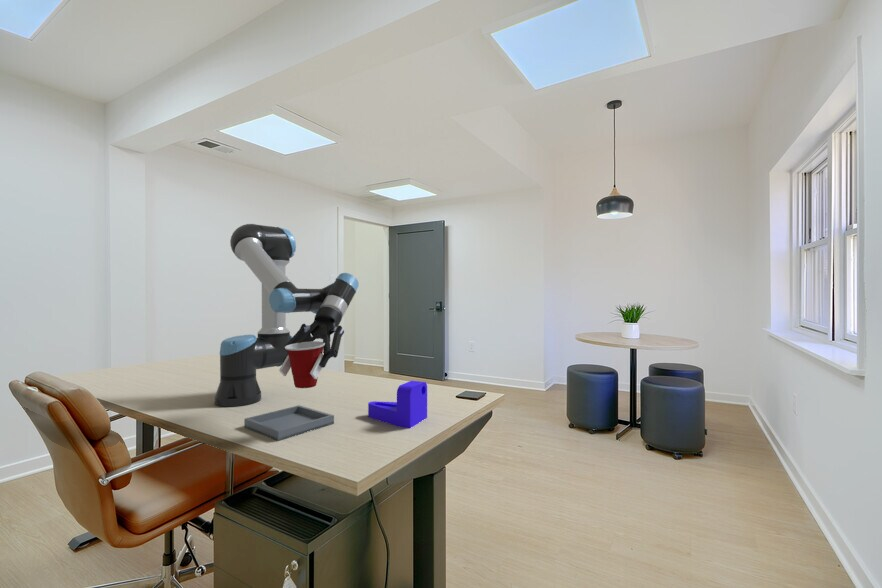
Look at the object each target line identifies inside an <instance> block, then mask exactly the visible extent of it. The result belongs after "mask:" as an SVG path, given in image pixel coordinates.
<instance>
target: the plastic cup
mask: <svg viewBox="0 0 882 588" xmlns="http://www.w3.org/2000/svg"><path fill="white" fill-rule="evenodd" d="M324 345H325V343H323V341H319V340H318V341H315V340H314V341H311V342H301V343H295V344H290V345H287V346H285V349H286V350H287V353H288V356H289V359H290V365H291V368H290V369H291V375H292V378H293V384H294V385H293V386H294V387H295V388H296V389H311V388H315V387H316V386H317V383H318V379H319V376H318V377H317V379H314V378H313V377H312V375H311V374H310V372H311V370H312V369H313V367H314V365H315V363H316V361H317V359H318V357H319V355H320V354H323V352H322V351H323V347H324Z"/></svg>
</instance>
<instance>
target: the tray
mask: <svg viewBox="0 0 882 588" xmlns="http://www.w3.org/2000/svg"><path fill="white" fill-rule="evenodd" d="M243 420H244V428H245V429H248V430H250V431H253V432H255V433H258V434H261V435H262V434H263V436H265V435H266V436H265V437H267V436H268V438H270V437H271V438H270V439H272V438H273V440H276V441H277V440H278V441H277V442H279V441H282V440H286V439H288V438H289V437H290V438H293V437H296V436H299V435H301V433H302V434H305V433H304V432H306V433H308V432H307V431H309V432H311V431H310V430H312V431H315V430H318V429H321V427H322V428H324V427H328V426H331V425H334V424H335V415H334V414H331V413H328V412H323V411H321V410H316V409H314V408H310V407H306V406H305V405H304V406H303V405H299V404H298V405H295V406H290V407H286V408H282V409H279V410H274V411H271V412H266V413H262V414H258V415H254V416H250V417H247V418H246V417H245V418H244V419H243ZM314 429H315V430H314ZM298 434H299V435H298ZM295 435H296V436H295ZM292 436H293V437H292Z"/></svg>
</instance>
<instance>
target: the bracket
mask: <svg viewBox="0 0 882 588" xmlns="http://www.w3.org/2000/svg"><path fill="white" fill-rule="evenodd" d="M367 404H368V405H367V412H368V413H367V415H368V418H371V419H372V420H376V419H377V420H376V421H379V420H380V421H379V422H383V423H386V424H388V425H393V426H395V427H399V426H400V428H406V429H412V428H413V427H415V426H416V425H418V424H420V423H421V422H423V421H425V420H426V419H428V383H427V382H425V381H419V380H418V381H417V380H410V381H407V382H404V383H402V384H400V385H398V387H397V390H396V401H377V400H375V401H369V402H368V403H367ZM424 419H425V420H424ZM422 420H423V421H422ZM419 422H420V423H419ZM411 427H412V428H411Z"/></svg>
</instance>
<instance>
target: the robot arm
mask: <svg viewBox="0 0 882 588" xmlns="http://www.w3.org/2000/svg"><path fill="white" fill-rule="evenodd" d="M229 242H230V245H229V246H230V249H231V251H232V252H233V254H234V256H235V257H236V258H237V259H238V260H239V261H243V262H244V263H245V264H246V266H248V268H249V269H250V271H251V272H252V273H253V274H254V275H255V277H256V278H257V279H258V281H259V282H260V283H261V328H260V329H259V330H258V331H257V336H256V335H255V334H243V335H242V334H241V335H236V336H232V337H228V338H225V339H224V340H222V341H221V342H220V348H219V363H220V364H219V365H220V366H219V377H220V379H219V384H218V387H217V389H216V392H215V395H214V405H215V406H218V407H239V406H246V405H251V404H255V403H258V402H260V401H261V400H262V391H261V388H260V385H259V383H258V379H257V370H262V369H267V368H274V367H279V368H278V371H279V372H280V374H282V375H283V377H287V374H288V373H289V371H290V369H291V365H290V359H289V356H288V353H287V350H286V349H285V346H287V345H290V344H295V343H301V342H311V341H315V340H318V339H320V340H322V342H323V343H325V345H324V347H323V351H322V354H320V355H319V357H318V359H317V361H316V363H315V365H314V367H313V369H312V370H311V372H310V374H311V375H312V377H313V378H314V379H317V377H318V378H319V375H320V374H321V371H322V370H323V369H324V368H325V367H326V366H327V363H328V361H329V360H330V359H331V358H334V359H335V358H337V357H338V354H339V351H340V346H341V340H342V337H343V335H344V333H345V330H344V329H343V327H342V325H340V324H341V322H342V319H343V317H344V315H345V313H346V311H347V310H348V309H349V306H350V304H351V302H352V301H353V298H354V297H355V294H356V293H357V290H358V288H359V280H358V279H357V277H355V276H354V275H353V274H351V273H348V272H342V273H340V274H339V275H338V276H337V277H336V278H335V280H334V282H332V283H330V284H329V285H326V286H324V287H323V288H297V287H296V285H295V284H294V283H293V282H292V281H291V280H290V279H289V277H288V276H287V274H286V266H287V265H288V264H290V258H293V257H294V256H295V253H296V249H297V244H296V239H295V237H294V235H293V233H292V232H291V231H290V230H289V229H286V228H284V227H283V228H281V227H279V226H270V225H269V226H268V225H261V224H255V223H246V224H243V225H240V226H239V227H237V228H236V229H235V230H234V231H233V232H232V235H231V236H230V241H229ZM303 312H304V313H306V312H307V313H309V312H311V313H313V314H315V315H314V319H313V322H312V323H311V324H309V325H306V323H302V324H300V328H299V330H297V332H296V333H294V335H291V331H290V330H289V329H288V328H287V327H286V326H287V322H286V318H287V317H286V314H289V313H303ZM332 334H333V337H332V340H331V335H332ZM317 380H318V379H317ZM260 399H261V400H260ZM259 400H260V401H259ZM257 401H258V402H257Z"/></svg>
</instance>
